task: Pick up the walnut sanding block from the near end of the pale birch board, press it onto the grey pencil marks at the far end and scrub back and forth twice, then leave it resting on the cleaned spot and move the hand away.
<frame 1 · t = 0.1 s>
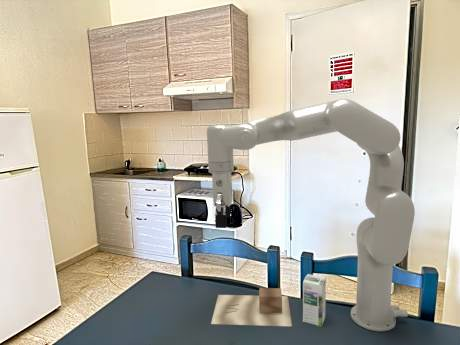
hand: (223, 222, 98), 31 cm above the table, tool pointing down, fingers open, 9 cm apart
sanding block: (270, 309, 102), point 1 cm above the table, touching board
board: (251, 313, 103), on the table
syrup box: (314, 323, 97), on the table
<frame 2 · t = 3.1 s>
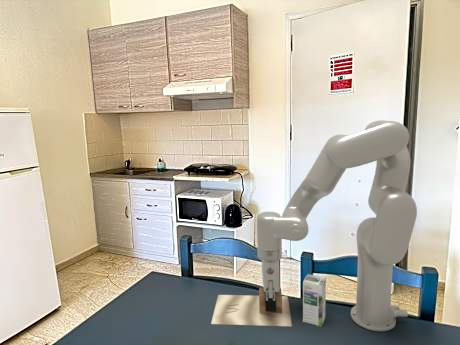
hand: (270, 305, 102), 3 cm above the table, tool pointing down, fingers closed on sanding block, 5 cm apart
sanding block: (270, 309, 102), point 2 cm above the table, touching board, gripper
everything else where it was.
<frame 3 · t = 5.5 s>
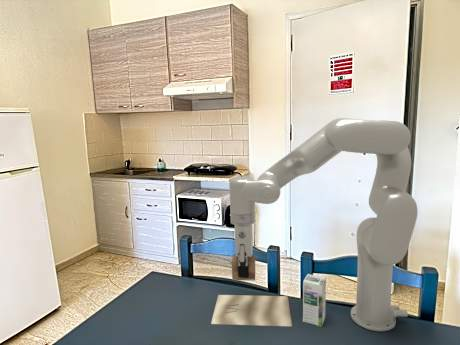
hand: (244, 272, 101), 14 cm above the table, tool pointing down, fingers closed on sanding block, 5 cm apart
sanding block: (244, 276, 101), point 13 cm above the table, touching gripper
everything else where it was.
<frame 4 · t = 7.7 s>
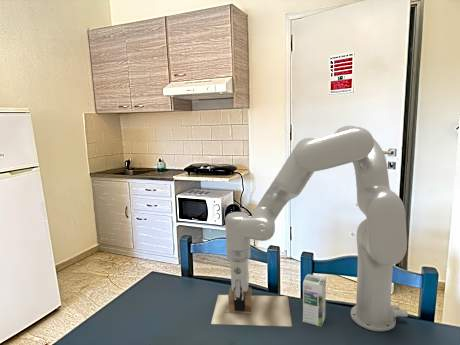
hand: (240, 304, 103), 3 cm above the table, tool pointing down, fingers closed on sanding block, 5 cm apart
sanding block: (240, 308, 103), point 2 cm above the table, touching gripper
everything else where it was.
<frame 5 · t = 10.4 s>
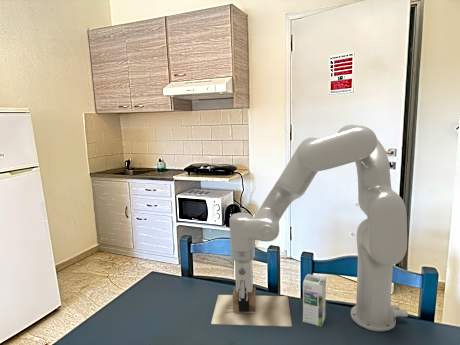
hand: (244, 305, 103), 3 cm above the table, tool pointing down, fingers closed on sanding block, 5 cm apart
sanding block: (244, 308, 103), point 2 cm above the table, touching gripper
everything else where it was.
when the fingers open (3 cm above the table, at t = 12.7 s): sanding block stays where it is, resting on board.
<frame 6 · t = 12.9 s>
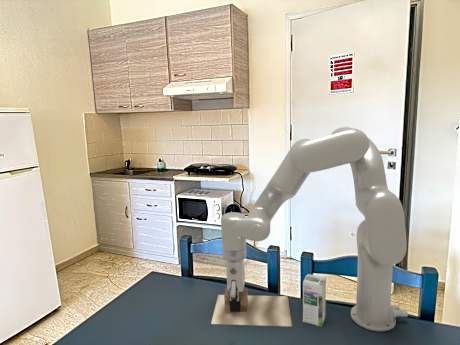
hand: (236, 304, 103), 3 cm above the table, tool pointing down, fingers open, 6 cm apart
sanding block: (236, 308, 103), point 2 cm above the table, touching board
everything else where it was.
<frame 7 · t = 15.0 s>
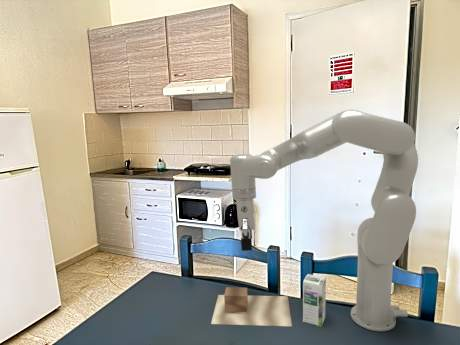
hand: (247, 244, 105), 22 cm above the table, tool pointing down, fingers open, 9 cm apart
nothing on the table moved.
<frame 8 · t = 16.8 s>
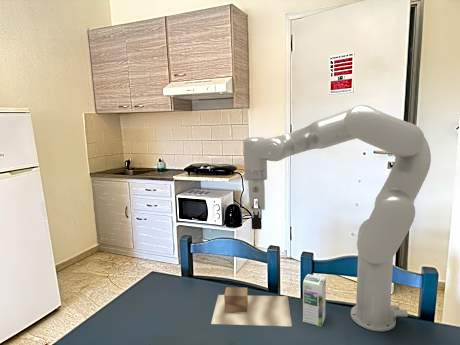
hand: (256, 224, 109), 26 cm above the table, tool pointing down, fingers open, 9 cm apart
nothing on the table moved.
at the end: sanding block inside the target area on the board (0.1 cm from its centre), point 1.5 cm above the board's base; sanding block tilted 0°; the gripper is holding nothing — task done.
